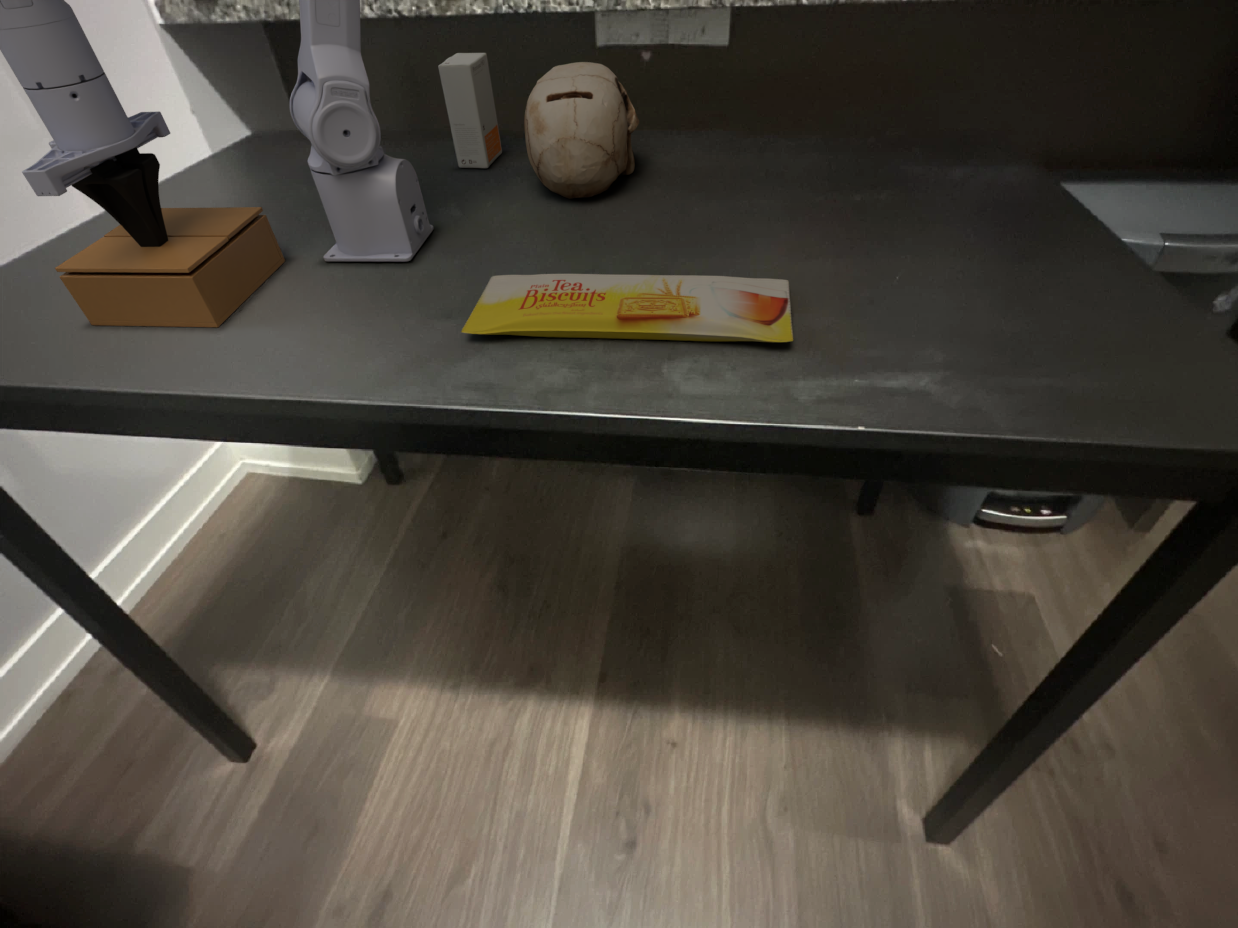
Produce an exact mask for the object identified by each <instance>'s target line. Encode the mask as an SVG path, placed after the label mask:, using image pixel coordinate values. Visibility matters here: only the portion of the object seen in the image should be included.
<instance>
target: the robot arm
mask: <svg viewBox="0 0 1238 928" xmlns="http://www.w3.org/2000/svg"><path fill="white" fill-rule="evenodd" d="M298 6H299V7H298V8H299V23H300V25H299V26H300V44H299V49H298V53H297V79H296V82H295V85H294V87H293V89H292V91H291V93H290V96H289V112H290V113H289V114H290V116H291V119H292V121H293V124H294V126H295V127H296V128H297V130H298V131H299V132H300V134H302V135H303V136H304V137H305V138H307V140H308V141H309V142H310V144H311V145H310V153H309V156H308V158H307V161H306V163H307V164H308V167H309V170H310V174H311V177H312V179H313V182H314V185H315V188H316V190H317V193H318V196H319V198H320V201H321V204H322V207H323V209H324V212H325V215H326V218H327V221H328V224H329V226H330V229H331V232H332V235H333V238H334V240H335V243H334V245H333V246H331V248H329V250H328V251H327V252H326V253H325V254H324V255H323V257H322V258H323V260H324V261H325V262H361V263H362V262H368V263H369V262H375V263H376V262H377V263H380V262H386V263H387V262H389V263H391V262H393V263H394V262H400V263H401V262H403V263H404V262H409V261H412V260H413V258H414V257H415V256H416V253H417V252H418V251H419V250H420V248H421V247H422V246H423V244H424V243H425V241H426V240H427V238H428V237H429V236H430V235H431V233H432V232H433V230H434V226H433V224H430V220H429V216H428V212H427V208H426V204H425V201H424V197H423V193H422V190H421V185H420V181H419V178H418V175H417V172H416V170H415V168H414V166H413V164H412V163H411V162H410V160H407V159H405V158H398V157H397V158H396V157H393V156H390V155H388V154H386V153H385V152H384V149H383V145H382V146H381V141H382V132H381V126H380V123H379V120H378V118H377V116H376V113H375V110H374V109H373V105H372V103H371V84H370V80H369V77H368V74H367V70H366V67H365V63H364V61H363V56H362V41H361V40H362V39H361V0H298ZM0 52H1V54H2V55H3V57H4V59H5V60H6V62H7V64H8V66H9V67H10V69H11V71H12V73H13V74H14V76H15V77H16V79H17V81H18V82H19V85H20V86H21V87H22V89H23V90H24V93H25V94H26V95H27V97H28V99H29V101H30V102H31V104H32V106H33V108H34V110H35V111H36V112H37V115H38V116H39V118H40V119H41V121H42V123H43V124H44V127H45V128H46V129H47V131H48V133H49V135H50V136H51V138H52V140H51V141H49V142H48V145H49V147H50V150H49V151H48V152H47V153H45V154H44V155H43V156H42V157H41V158H40V159H38V160H37V161H36V162H34V164H32V165H31V166H29V167H27V168H25V169H23V170H22V171H21V173H22V175H23V177H24V178H25V180H26V181H27V184H29V186H30V187H31V189H32V191H33V192H34V193H35V195H36V197H60V196H63V195H64V194H66V193H67V192H68V189H67V188H69V187H72V188H74V189H76V190H77V191H78V192H80V193H82V194H83V195H84V196H86V197H87V198H89V199H90V200H91V201H92V202H94V203H95V204H97V205H98V206H99V207H100V208H102V209H103V210H104V211H105V212H106V213H108V215H110V216H111V217H112V218H113V219H114V220H115V221H116V222H117V223H118V224H119V225H121V226H122V227H123V228H124V229H125V230H126V231H127V232H128V233H129V234H130V235H131V237H132V238H133V239H134V240H135V241H136V242H137V243H138V244H139V245H140V246H141V247H160V246H162V245H163V244H164V243H166V242H167V241H168V236H167V232H166V228H165V224H164V220H163V215H162V210H161V208H162V206H161V199H160V189H159V188H160V187H159V186H160V185H159V177H160V168H161V163H160V162H159V159H158V158H157V155H156V154H155V153H152V152H147V153H146V152H141V153H140V150H139V149H140V148H141V147H143V146H145V145H146V144H148V143H150V142H152V141H154V140H156V139H157V138H165V137H168V136H169V135H171V131H170V129H169V127H168V125H167V122H166V120H165V119H164V117H163V114H162V112H161V111H140V112H138V113H136V114H134V115H131V116H128V115H127V113H126V111H125V109H124V107H123V105H122V103H121V101H120V100H119V97H118V95H117V94H116V93H117V92H116V91H115V89H114V88H113V86H112V84H111V82H110V80H109V78H108V76H107V74H106V72H105V69H104V68H103V67H102V64H101V63H100V60H99V58H98V56H97V55H96V52H95V51H94V49H93V47H92V45H91V43H90V40H89V39H88V37H87V35H86V33H85V31H84V29H83V27H82V25H81V24H80V21H79V19H78V17H77V15H76V14H75V12H74V10H73V7H72V6H71V5H70V3H68V2H67V1H66V0H0Z"/></svg>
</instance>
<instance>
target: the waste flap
mask: <svg viewBox="0 0 1238 928" xmlns="http://www.w3.org/2000/svg"><path fill="white" fill-rule="evenodd" d="M228 241H229V240H228V238H227V237H168V241H167V242H166V243H164V244H163V245H162V246H160V247H141V246H140V245H139V244H138V243H137V242H136V241H135V240H134V239H133V238H132V237H104V236H102V237H100V238H99V239H97V240H96V241H94V242H92V243H91V244H89V245H88V246H87V247H85V248H84V249H82V250H80V251H79V252H77V253H76V254H74V255H72V256H71V257H69V258H67V260H64V261H63V262H62V263H60V264H59V265H57V266H55V267H54V269H55V271H56V272H57V273H65V272H147V273H190V272H191V271H192V270H193V269H194V268H196V267H197V266H198V265H199V264H201V263H202V262H203V261H204V260H206V259H207V258H208V257H209V256H210V255H212V254H213V253H214V252H215V251H217V250H218V249H219V248H220V247H221V246H223V245H224V244H225V243H226V242H228Z"/></svg>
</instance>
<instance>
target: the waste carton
mask: <svg viewBox="0 0 1238 928" xmlns="http://www.w3.org/2000/svg"><path fill="white" fill-rule="evenodd" d="M161 210H162V215H163V220H164V224H165V228H166V232H167V236H168V237H227V238H228V240H229V241H228V242H226V243H225V244H224V245H223V246H221V247H220V248H219V249H218V250H217V251H215V252H214V253H213V254H212V255H210V256H209V257H208V258H207V259H206V260H204V261H203V262H202V263H201V264H199V265H198V266H197V267H196V268H194V269H193V270H195V271H194V272H193V273H192V274H191V275H131V274H133V273H134V272H63V274H61V275H59V279H60V280H61V281H62V283H63V285H64V286H65V288H66V289H67V291H68V292H69V294H70V296H71V297H72V298H73V300H74V301H75V303H76V304H77V306H78V307H79V308H80V310H81V311H82V313H83V314H84V316H85V317H86V319H87V320H88V322H89V324H90V325H91V326H107V327H108V326H111V327H112V326H113V327H114V326H115V327H118V326H119V327H169V328H170V327H171V328H173V327H175V328H176V327H177V328H178V327H179V328H219V327H220V326H221V325H222V324H223V323H224V322H225V321H226V320H227V319H228V318H229V317H231V315H232V314H233V313H234V312H235V311H236V310H237V309H238V308H239V307H241V306H242V304H243V303H244V302H246V300H248V298H250V297H251V295H252V294H253V293H255V291H256V290H258V289H259V288H260V287H261V286H262V284H264V283H265V282H266V281H267V280H268V279H269V278H270V277H271V276H272V275H273V274H274V273H275V272H276V271H277V270H278V269H279V268H280V267H281V266H282V265H284V264H285V262H286V259H285V256H284V254H283V252H282V250H281V247H280V245H279V243H278V240H277V238H276V235H275V234H274V230H273V228H272V225H271V223H270V221H269V219H268V217H267V215H266V214H262V213H263V212H264V209H263V207H262V206H252V207H251V206H248V207H247V206H245V207H244V206H243V207H241V206H239V207H238V206H236V207H235V206H233V207H232V206H230V207H229V206H228V207H224V206H223V207H161ZM103 237H131V235H130V234H129V233H128V232H127V231H126V230H125V229H124V228H123V227H122V226H121V225H120V224H119V225H117V226H115V227H114V228H113V229H112V230H110V231H108V232H107V233H105V234H104V235H103Z"/></svg>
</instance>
